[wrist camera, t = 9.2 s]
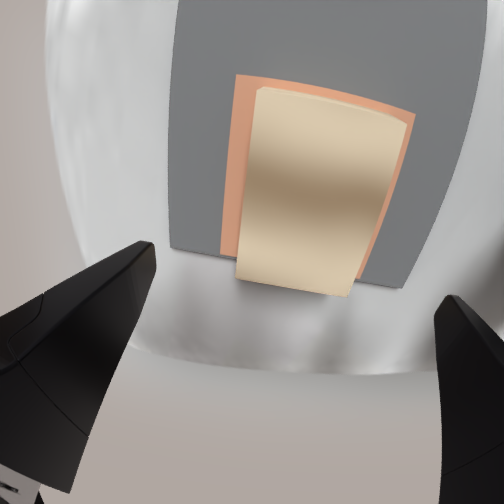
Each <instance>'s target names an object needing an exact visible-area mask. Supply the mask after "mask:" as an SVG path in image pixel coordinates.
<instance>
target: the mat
mask: <svg viewBox="0 0 504 504" xmlns="http://www.w3.org/2000/svg"><path fill="white" fill-rule="evenodd" d="M486 19H487V0H179V3H178V11H177V18H176V27H175V36H174V46H173V57H172V69H171V84H170V102H169V128H168V206H169V233H170V247H171V248H176V249H181V250H187V251H192V252H198V253H203V254H208V255H214V256H219V257H225V258H230V259H235V260H237V255H238V246H239V236H240V227H241V218H242V209H243V200H244V191H245V183H246V174H247V165H248V157H249V149H250V140H251V132H252V124H253V116H254V108H255V100H256V92H257V90H258V89H260V88H262V87H272V88H279V89H285V90H291V91H297V92H303V93H308V94H313V95H318V96H323V97H328V98H332V99H336V100H341V101H345V102H349V103H353V104H357V105H361V106H364V107H368V108H371V109H375V110H378V111H382V112H385V113H388V114H390V115H392V116H394V117H396V118H397V119H399V120H401V121H403V122H404V123H406V124H407V127H406V131H405V135H404V138H403V142H402V146H401V149H400V153H399V156H398V160H397V163H396V167H395V170H394V173H393V176H392V180H391V183H390V186H389V189H388V192H387V195H386V198H385V201H384V204H383V207H382V210H381V213H380V215H379V218H378V221H377V224H376V227H375V229H374V232H373V235H372V237H371V240H370V243H369V245H368V248H367V250H366V253H365V255H364V258H363V260H362V263H361V265H360V268H359V270H358V273H357V275H356V277H355V280H354V281H360V282H366V283H372V284H377V285H383V286H389V287H395V288H401V289H402V288H403V286H404V284H405V282H406V280H407V278H408V276H409V274H410V272H411V270H412V269H413V267H414V265H415V263H416V261H417V259H418V256H419V254H420V252H421V250H422V248H423V246H424V244H425V242H426V240H427V237H428V235H429V233H430V231H431V229H432V226H433V224H434V222H435V219H436V217H437V215H438V212H439V210H440V207H441V205H442V202H443V200H444V197H445V195H446V192H447V189H448V187H449V184H450V181H451V179H452V176H453V173H454V170H455V167H456V164H457V161H458V158H459V155H460V152H461V149H462V145H463V142H464V139H465V135H466V132H467V128H468V124H469V120H470V117H471V113H472V108H473V104H474V100H475V95H476V91H477V86H478V81H479V75H480V69H481V63H482V57H483V49H484V41H485V32H486Z"/></svg>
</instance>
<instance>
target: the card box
mask: <svg viewBox="0 0 504 504" xmlns="http://www.w3.org/2000/svg"><path fill="white" fill-rule="evenodd" d="M406 127H407V124H406V123H404V122H403V121H401V120H399V119H397V118H396V117H394V116H392V115H390V114H388V113H385V112H382V111H378V110H375V109H371V108H368V107H364V106H361V105H357V104H353V103H349V102H345V101H341V100H336V99H332V98H328V97H323V96H318V95H313V94H308V93H303V92H297V91H291V90H285V89H279V88H272V87H262V88H260V89H258V90H257V92H256V100H255V108H254V116H253V124H252V132H251V140H250V149H249V157H248V165H247V174H246V183H245V191H244V200H243V209H242V218H241V227H240V236H239V246H238V255H237V265H236V274H235V278H236V279H241V280H247V281H252V282H258V283H263V284H269V285H275V286H281V287H286V288H292V289H298V290H304V291H310V292H316V293H322V294H328V295H335V296H341V297H347V296H348V294H349V291H350V289H351V287H352V285H353V282H354V280H355V277H356V275H357V273H358V270H359V268H360V265H361V263H362V260H363V258H364V255H365V253H366V250H367V248H368V245H369V243H370V240H371V237H372V235H373V232H374V229H375V227H376V224H377V221H378V218H379V215H380V213H381V210H382V207H383V204H384V201H385V198H386V195H387V192H388V189H389V186H390V183H391V180H392V176H393V173H394V170H395V167H396V163H397V160H398V156H399V153H400V149H401V146H402V142H403V138H404V135H405V131H406Z"/></svg>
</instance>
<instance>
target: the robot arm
mask: <svg viewBox="0 0 504 504" xmlns="http://www.w3.org/2000/svg"><path fill="white" fill-rule="evenodd" d="M155 273H156V256H155V247H154V244H153V243H152V242H147V241H138V242H136V243H134V244H132V245H130V246H128V247H126V248H124V249H122V250H120V251H118V252H116V253H115V254H113V255H111V256H109V257H107V258H105V259H103V260H101V261H99V262H98V263H96V264H94V265H92V266H90V267H88V268H86V269H85V270H83V271H81V272H79V273H77V274H76V275H74V276H72V277H70V278H68V279H66V280H65V281H63V282H61V283H59V284H58V285H56V286H54V287H52V288H51V289H49V290H47V291H45V292H44V294H43V293H42V294H40V295H39V296H37V297H35V298H34V299H32V300H30V301H28V302H27V303H25V304H23V305H21V306H20V307H18V308H16V309H14V310H12V311H10V312H8V313H6V314H5V315H3V316H1V317H0V504H44V502H43V500H42V498H41V495H40V493H39V488H40V485H41V483H42V484H44V485H47V486H49V487H52V488H54V489H57V490H60V491H62V492H65V493H68V494H69V493H70V491H71V488H72V485H73V482H74V479H75V476H76V473H77V469H78V467H79V464H80V460H81V457H82V455H83V452H84V449H85V446H86V443H87V440H88V438H89V437H88V436H89V435H90V432H91V429H92V427H93V424H94V422H95V419H96V416H97V414H98V411H99V409H100V406H101V404H102V401H103V398H104V396H105V394H106V391H107V389H108V387H109V384H110V382H111V379H112V377H113V375H114V372H115V370H116V368H117V366H118V363H119V361H120V359H121V356H122V354H123V352H124V350H125V348H126V345H127V343H128V341H129V339H130V337H131V334H132V332H133V330H134V328H135V326H136V324H137V322H138V319H139V317H140V315H141V312H142V309H143V306H144V303H145V301H146V298H147V295H148V292H149V289H150V286H151V284H152V281H153V278H154V276H155ZM434 329H435V344H436V362H437V371H438V380H439V390H440V402H441V403H440V404H441V423H442V467H441V468H442V469H441V483H440V496H439V504H504V341H503V340H502V339H501V338H500V337H499V336H498V335H497V334H496V333H495V332H494V331H493V330H492V329H491V328H490V327H489V326H488V325H487V324H486V322H485V321H484V320H483V319H482V318H481V317H480V316H479V315H478V314H477V313H476V312H475V311H473V310H472V309H471V308H470V307H469V306H468V305H467V304H466V303H465V302H464V301H463V300H462V299H461V298H460V297H459V296H456V295H447V296H446V297H445V298H444V300H443V301H442V303H441V304H440V306H439V307H438V309H437V310H436V312H435V314H434Z"/></svg>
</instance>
